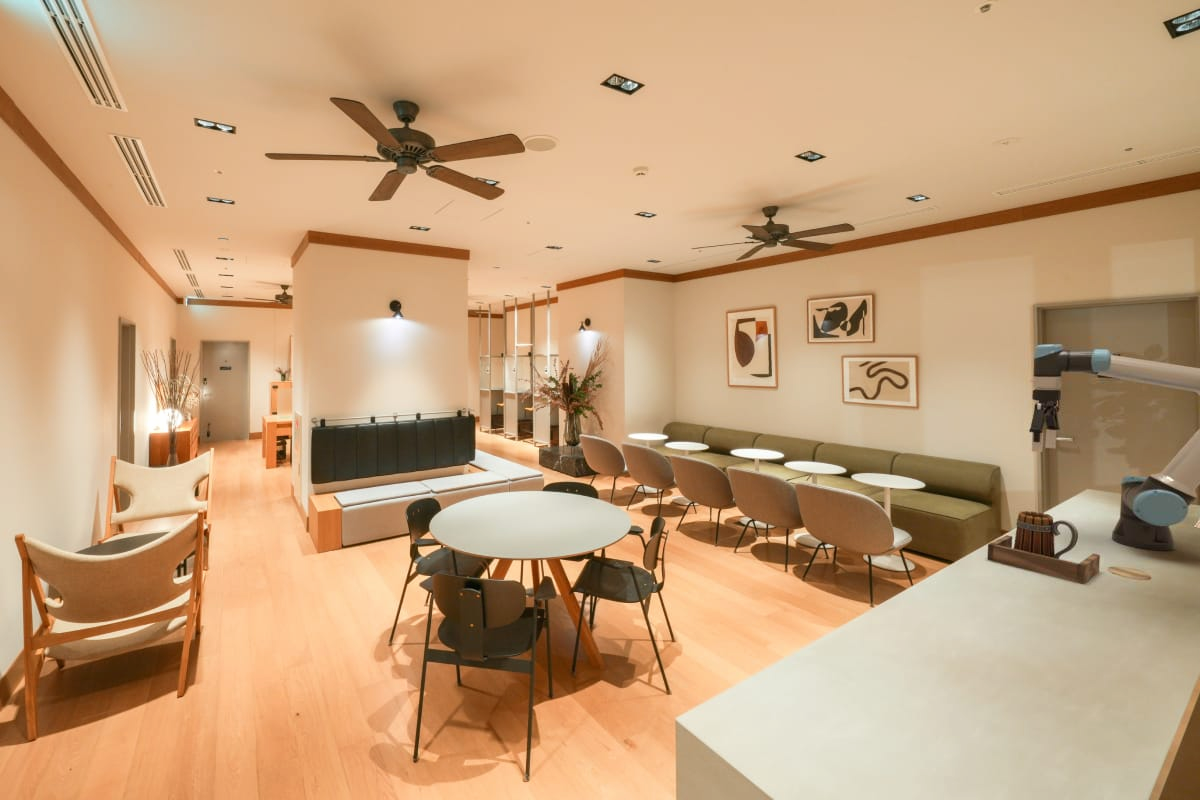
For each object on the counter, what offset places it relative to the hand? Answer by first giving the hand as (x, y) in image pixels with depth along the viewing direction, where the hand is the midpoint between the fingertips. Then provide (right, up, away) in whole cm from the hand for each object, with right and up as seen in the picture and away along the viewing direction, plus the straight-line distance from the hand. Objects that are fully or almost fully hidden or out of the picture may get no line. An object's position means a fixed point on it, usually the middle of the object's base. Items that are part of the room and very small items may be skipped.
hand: (1043, 449), depth 186 cm
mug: (-19, -33, -22) cm, 44 cm away
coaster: (0, -34, -30) cm, 45 cm away
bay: (-19, -33, -23) cm, 45 cm away
